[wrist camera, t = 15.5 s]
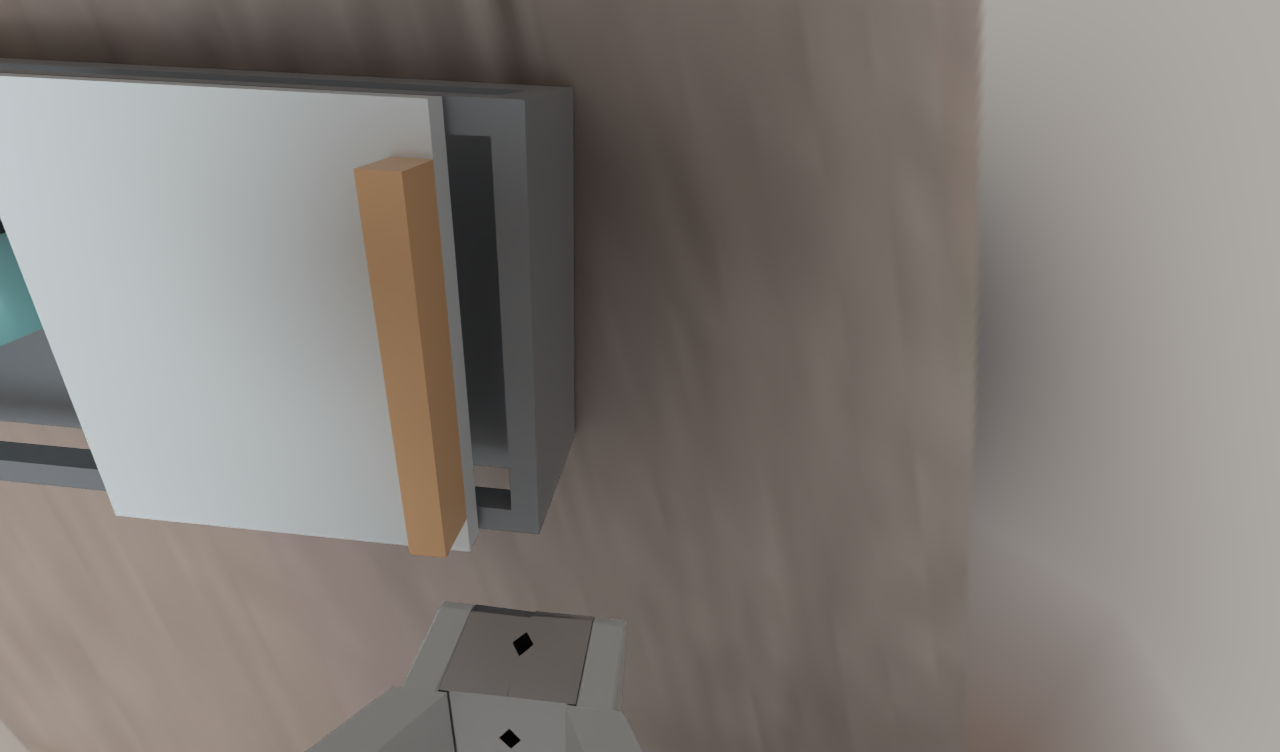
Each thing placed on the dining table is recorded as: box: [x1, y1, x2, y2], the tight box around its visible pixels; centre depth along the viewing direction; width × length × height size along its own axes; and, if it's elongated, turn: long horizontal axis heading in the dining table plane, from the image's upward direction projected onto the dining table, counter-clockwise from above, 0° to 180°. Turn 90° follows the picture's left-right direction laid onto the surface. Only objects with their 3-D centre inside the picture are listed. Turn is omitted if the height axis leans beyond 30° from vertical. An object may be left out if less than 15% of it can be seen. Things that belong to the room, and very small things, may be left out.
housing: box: [0, 58, 574, 534], centre depth 25 cm, size 15×30×9 cm, turn 88°
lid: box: [0, 73, 479, 558], centre depth 20 cm, size 15×14×3 cm
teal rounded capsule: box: [0, 233, 43, 346], centre depth 26 cm, size 4×4×6 cm
